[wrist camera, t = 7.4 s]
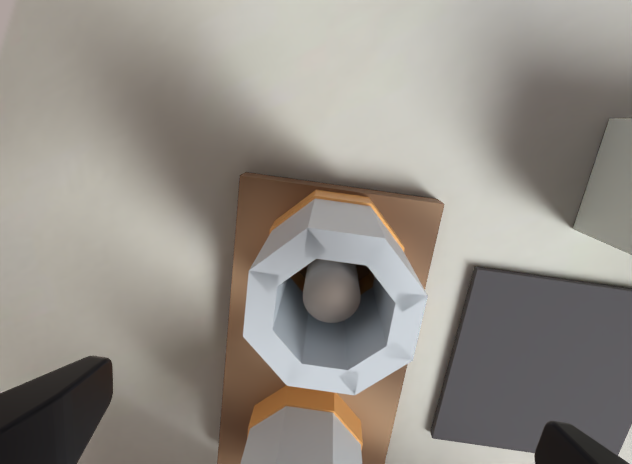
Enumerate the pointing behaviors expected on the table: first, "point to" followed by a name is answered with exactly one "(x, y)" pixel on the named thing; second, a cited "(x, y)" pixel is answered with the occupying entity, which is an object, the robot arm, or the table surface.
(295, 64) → the table surface
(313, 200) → the sleeve
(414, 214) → the pin board
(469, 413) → the pad
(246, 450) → the sleeve
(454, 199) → the table surface
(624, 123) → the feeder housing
